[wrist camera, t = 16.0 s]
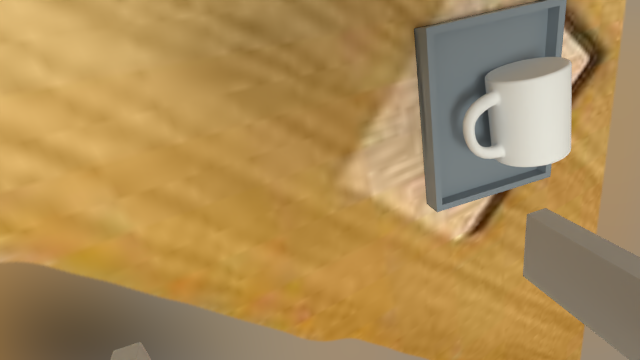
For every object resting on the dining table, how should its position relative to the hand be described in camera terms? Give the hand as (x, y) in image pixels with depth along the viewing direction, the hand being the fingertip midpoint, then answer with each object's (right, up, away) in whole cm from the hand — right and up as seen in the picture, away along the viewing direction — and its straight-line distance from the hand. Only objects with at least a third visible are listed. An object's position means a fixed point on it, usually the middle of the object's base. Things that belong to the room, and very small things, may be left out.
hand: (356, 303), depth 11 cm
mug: (+19, +13, +31) cm, 39 cm away
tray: (+19, +13, +32) cm, 39 cm away
